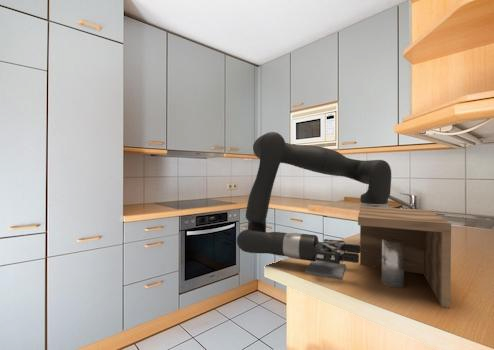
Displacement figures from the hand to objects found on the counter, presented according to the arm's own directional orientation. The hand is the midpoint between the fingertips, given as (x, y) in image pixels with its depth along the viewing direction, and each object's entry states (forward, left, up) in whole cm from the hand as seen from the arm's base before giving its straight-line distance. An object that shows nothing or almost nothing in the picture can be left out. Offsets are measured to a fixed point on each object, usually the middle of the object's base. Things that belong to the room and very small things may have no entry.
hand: (359, 253), depth 70 cm
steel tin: (0, +8, -7) cm, 10 cm away
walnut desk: (-1, +9, -7) cm, 11 cm away
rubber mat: (-2, -9, -7) cm, 11 cm away
